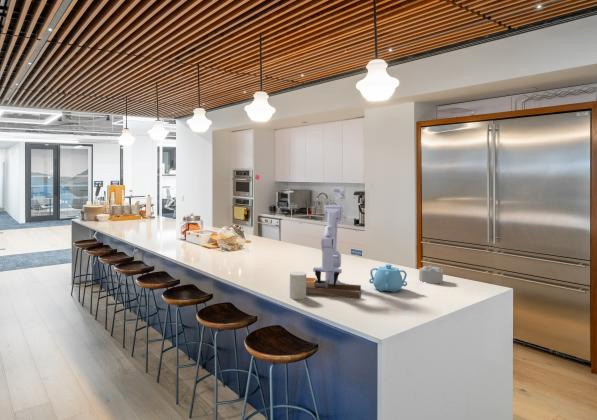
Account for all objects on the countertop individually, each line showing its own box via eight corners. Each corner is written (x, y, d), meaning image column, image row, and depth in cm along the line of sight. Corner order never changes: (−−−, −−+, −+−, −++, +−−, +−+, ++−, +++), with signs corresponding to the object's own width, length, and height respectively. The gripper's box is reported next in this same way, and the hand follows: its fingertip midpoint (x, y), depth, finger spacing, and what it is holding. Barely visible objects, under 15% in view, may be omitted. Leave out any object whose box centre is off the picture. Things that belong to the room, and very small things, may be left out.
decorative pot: (391, 284, 238) (392, 260, 237) (409, 292, 223) (410, 266, 222) (366, 287, 231) (367, 262, 230) (383, 295, 217) (384, 268, 216)
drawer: (300, 286, 227) (300, 276, 226) (329, 288, 224) (329, 278, 223) (296, 290, 218) (297, 280, 218) (327, 292, 215) (327, 282, 215)
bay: (297, 287, 229) (297, 274, 229) (360, 291, 223) (361, 278, 222) (292, 293, 217) (292, 280, 216) (359, 298, 210) (359, 284, 209)
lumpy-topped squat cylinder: (442, 284, 240) (443, 269, 239) (419, 282, 243) (419, 267, 242) (441, 280, 250) (442, 265, 249) (418, 278, 253) (419, 264, 252)
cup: (291, 300, 205) (292, 275, 204) (287, 295, 213) (288, 271, 212) (307, 298, 208) (308, 274, 207) (303, 294, 215) (303, 271, 214)
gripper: (312, 260, 216) (311, 287, 217) (340, 262, 213) (340, 288, 214) (314, 258, 223) (314, 283, 224) (342, 259, 220) (341, 285, 221)
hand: (327, 286), depth 219 cm, fingers open, 7 cm apart
